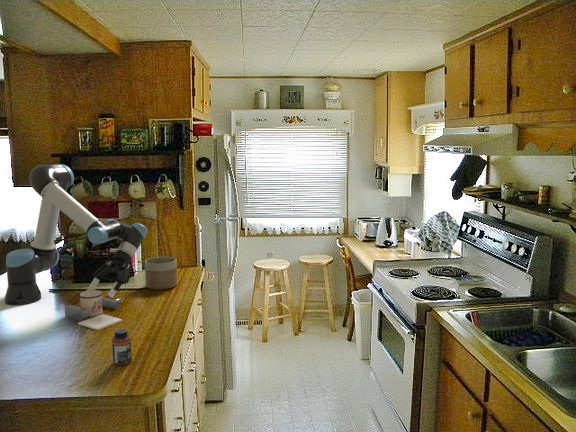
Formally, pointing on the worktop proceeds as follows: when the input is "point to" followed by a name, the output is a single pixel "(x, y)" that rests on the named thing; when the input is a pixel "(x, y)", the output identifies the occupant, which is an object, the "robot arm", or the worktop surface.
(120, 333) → the supplement bottle
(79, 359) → the worktop surface
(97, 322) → the tile
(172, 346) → the worktop surface
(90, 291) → the teacup with lid
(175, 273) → the planter
